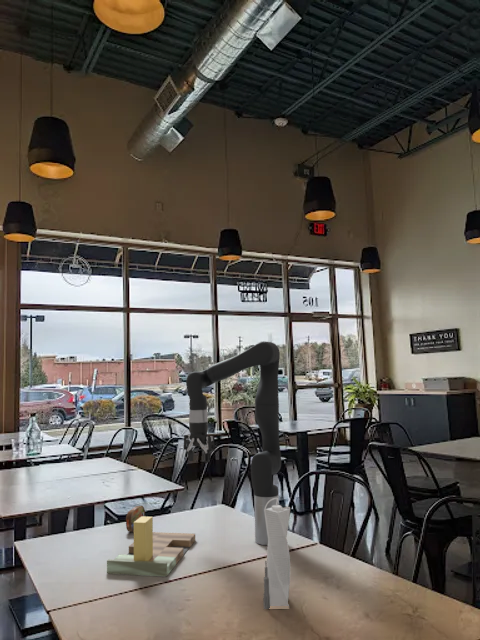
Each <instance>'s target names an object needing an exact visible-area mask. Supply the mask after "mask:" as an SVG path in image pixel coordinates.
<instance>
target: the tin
mask: <svg viewBox="0 0 480 640" xmlns="http://www.w3.org/2000/svg"><path fill="white" fill-rule="evenodd" d="M141 516H145V517H146V510H145V507H144V506H143V505H136V506H134V507H133V508H132V509H131V510H129V511H128V512H127V513H126V516H125V524H126V525H125V526H126V531H127V532H129V533H134V522H135V521H136V520H137V519H139V518H140V517H141Z"/></svg>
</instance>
